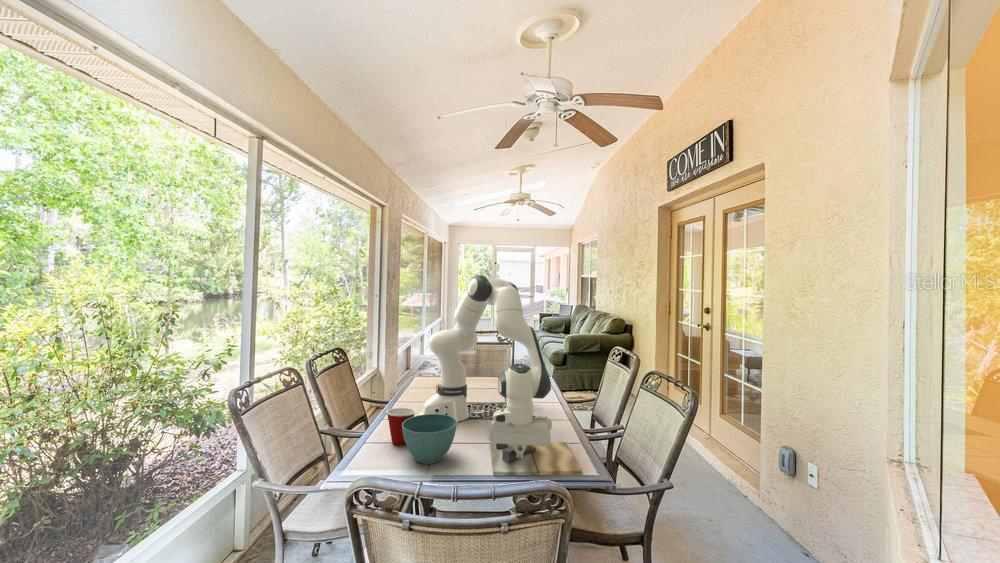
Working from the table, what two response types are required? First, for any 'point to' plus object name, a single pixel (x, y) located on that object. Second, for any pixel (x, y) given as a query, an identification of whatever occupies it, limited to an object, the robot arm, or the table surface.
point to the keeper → (501, 446)
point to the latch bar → (511, 455)
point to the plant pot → (429, 436)
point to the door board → (537, 461)
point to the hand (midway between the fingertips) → (519, 457)
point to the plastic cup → (398, 423)
